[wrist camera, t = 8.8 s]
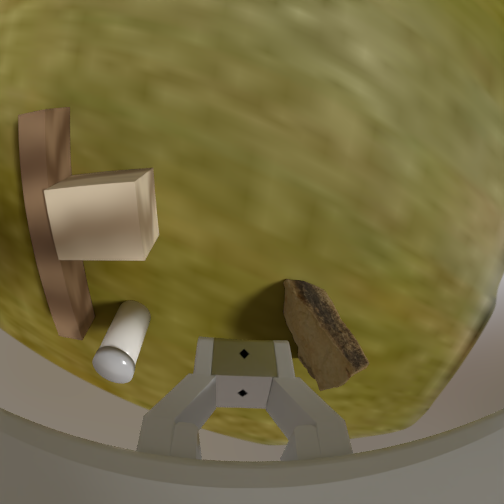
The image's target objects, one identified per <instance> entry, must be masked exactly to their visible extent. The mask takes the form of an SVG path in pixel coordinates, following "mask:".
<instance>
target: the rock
mask: <svg viewBox="0 0 504 504" xmlns="http://www.w3.org/2000/svg"><path fill="white" fill-rule="evenodd" d="M283 285H284V287H285V301H284V310H283V313H284V317H285V319H286V324H287V326H288V327H289V330H290V331H291V333H292V335H293V339H294V341H295V343H296V344H297V346H298V358H299V360H300V361H301V362H302V364H303V365H304V367H305V368H306V369H307V370H308V373H309V374H310V375H311V376H312V377H313V378H314V379H316V381H317V383H318V387H319V390H320V391H322V390H326V389H331V388H333V387H339V386H342V385H343V384H345V383H346V382H347V381H348V380H349V378H350V377H351V376H353V375H354V374H356V373H358V372H360V371H361V370H363V369H365V368H366V367H367V366H368V365H369V362H368V360H367V358H366V356H365V354H364V352H363V351H362V349H361V347H360V345H359V343H358V341H357V340H356V338H355V337H354V336H353V334H352V333H351V332H350V330H349V329H348V328H347V327H346V325H345V323H344V322H343V321H342V320H341V319H340V316H339V314H338V312H337V310H336V308H335V307H334V304H333V302H332V301H331V299H330V298H329V296H328V295H327V293H326V292H325V291H324V290H323V289H321V288H319V287H317V286H315V285H312V284H310V283H307V282H304V281H299V280H288V279H286V280H285V281H284V284H283Z"/></svg>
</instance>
